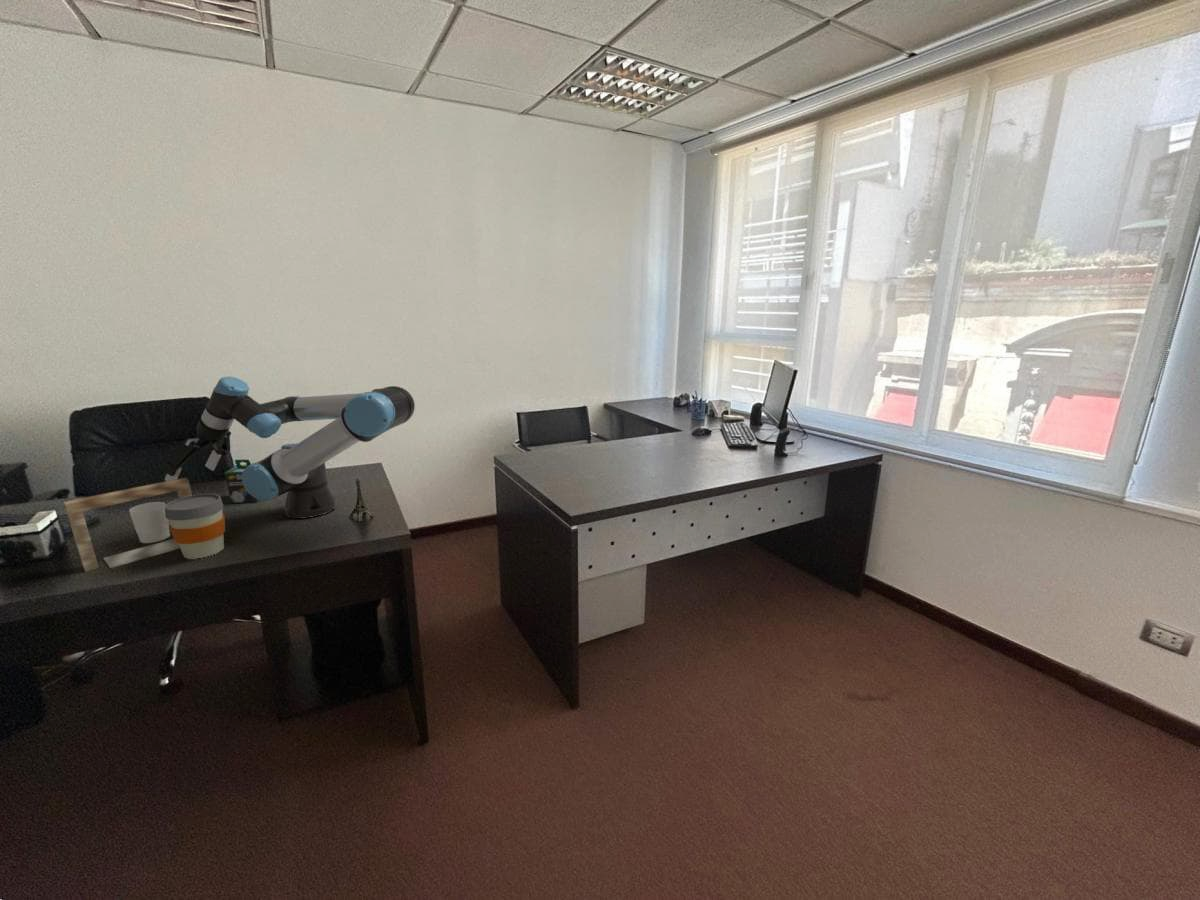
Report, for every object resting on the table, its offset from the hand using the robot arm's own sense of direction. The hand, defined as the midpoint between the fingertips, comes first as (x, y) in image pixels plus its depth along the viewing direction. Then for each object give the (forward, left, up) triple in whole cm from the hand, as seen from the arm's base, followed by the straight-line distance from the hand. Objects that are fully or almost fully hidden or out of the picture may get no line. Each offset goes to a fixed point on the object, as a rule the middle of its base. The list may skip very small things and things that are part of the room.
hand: (190, 474), depth 156 cm
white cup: (+1, +14, -16) cm, 21 cm away
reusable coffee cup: (-20, +18, -16) cm, 31 cm away
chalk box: (-1, -19, -16) cm, 25 cm away
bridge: (-5, +22, -15) cm, 27 cm away
